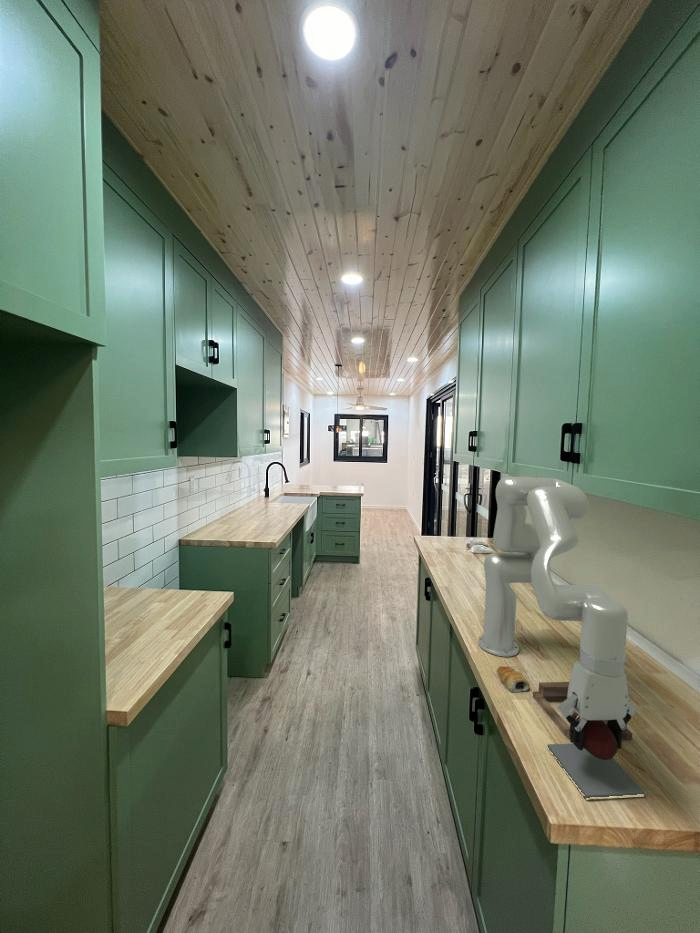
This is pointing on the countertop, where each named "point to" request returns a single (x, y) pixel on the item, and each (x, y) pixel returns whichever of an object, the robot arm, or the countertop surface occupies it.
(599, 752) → the potato
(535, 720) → the countertop surface
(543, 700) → the holder
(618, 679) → the robot arm
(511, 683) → the pastry
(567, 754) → the mat
